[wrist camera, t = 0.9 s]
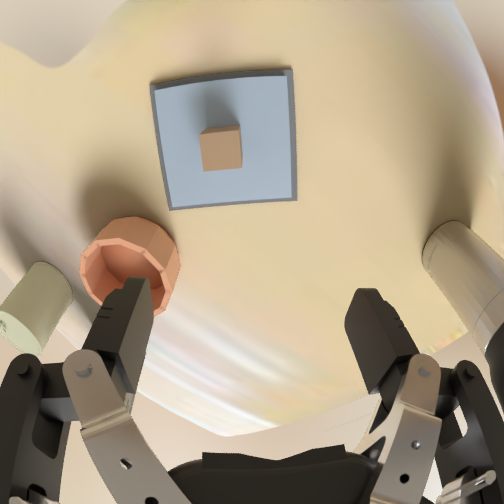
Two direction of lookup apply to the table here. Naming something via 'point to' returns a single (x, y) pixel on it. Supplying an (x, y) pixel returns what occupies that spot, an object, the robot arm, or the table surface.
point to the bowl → (131, 260)
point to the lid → (226, 140)
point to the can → (35, 308)
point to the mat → (221, 77)
